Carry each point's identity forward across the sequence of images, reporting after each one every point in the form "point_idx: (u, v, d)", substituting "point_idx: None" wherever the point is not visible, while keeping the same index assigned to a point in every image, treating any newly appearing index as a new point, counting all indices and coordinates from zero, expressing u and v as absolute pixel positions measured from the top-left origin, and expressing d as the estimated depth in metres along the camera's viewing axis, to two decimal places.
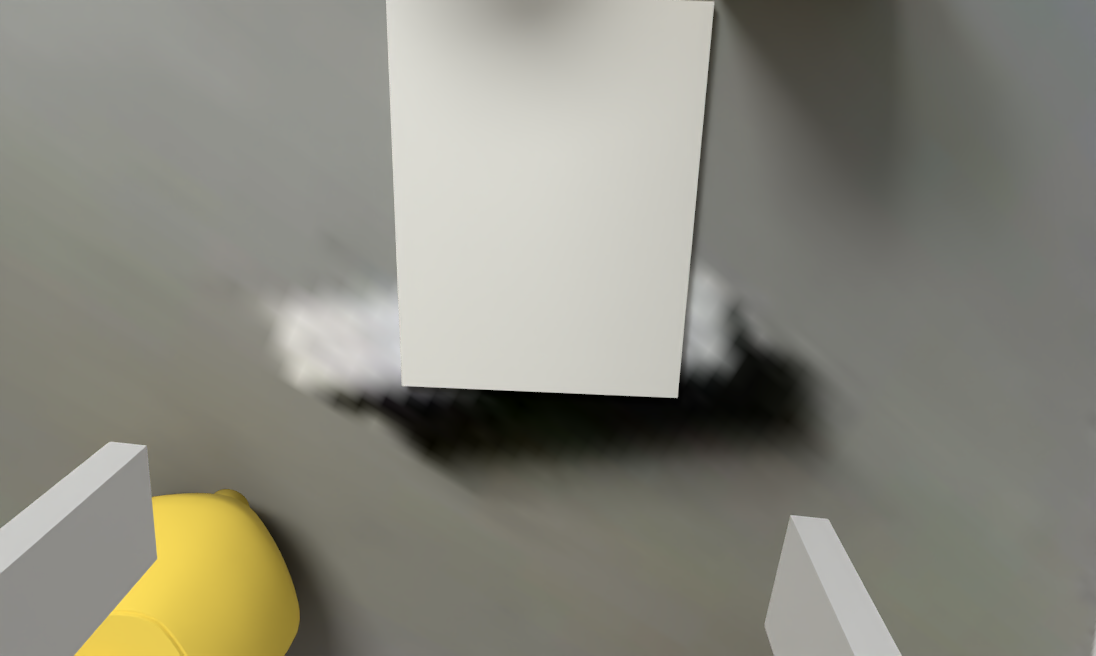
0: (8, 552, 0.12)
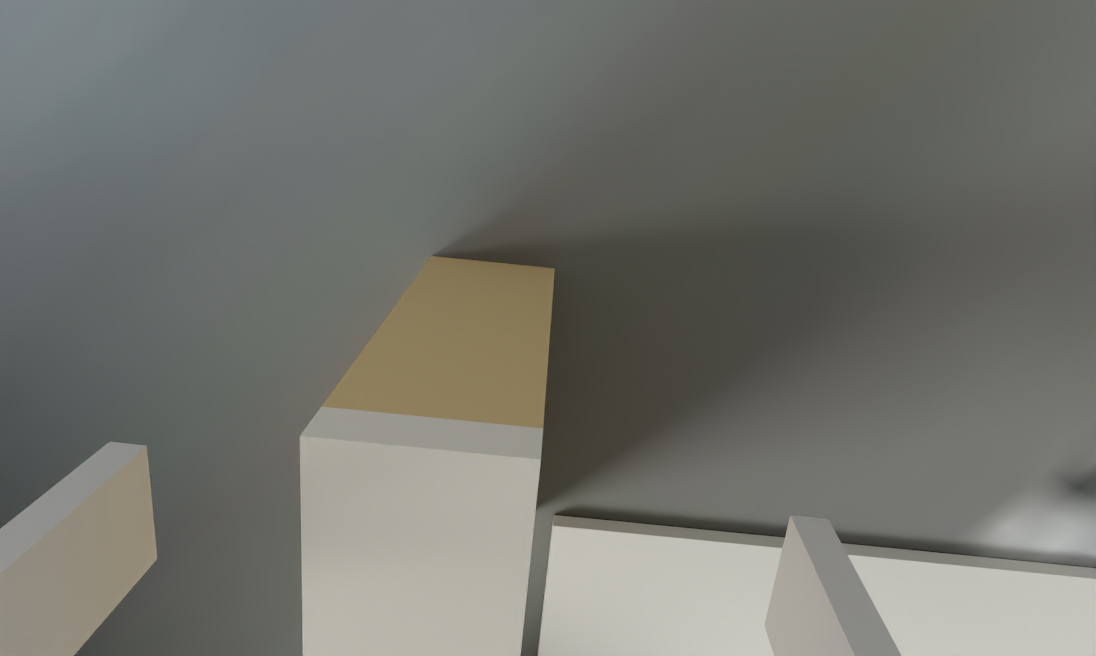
0: (8, 552, 0.12)
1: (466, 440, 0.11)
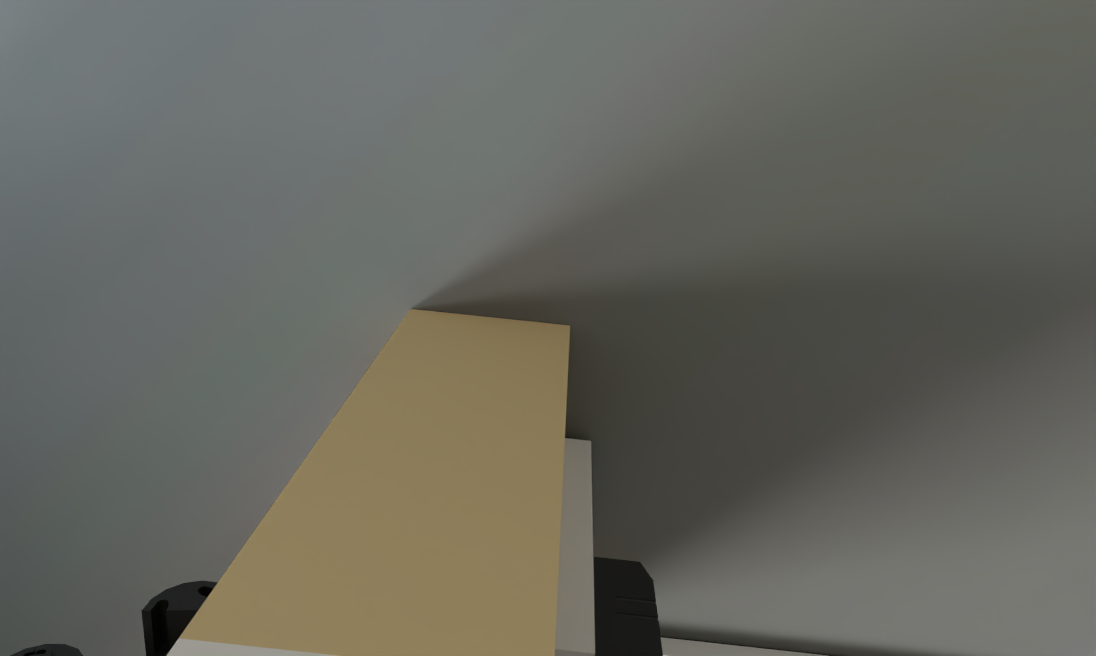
0: None
1: None
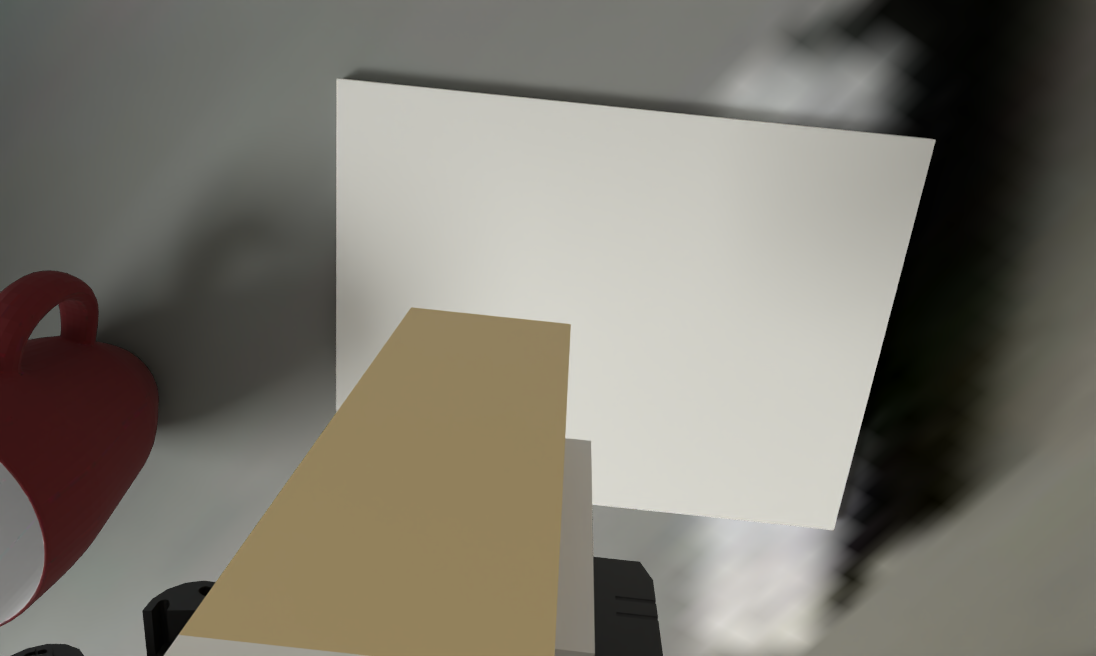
0: None
1: None
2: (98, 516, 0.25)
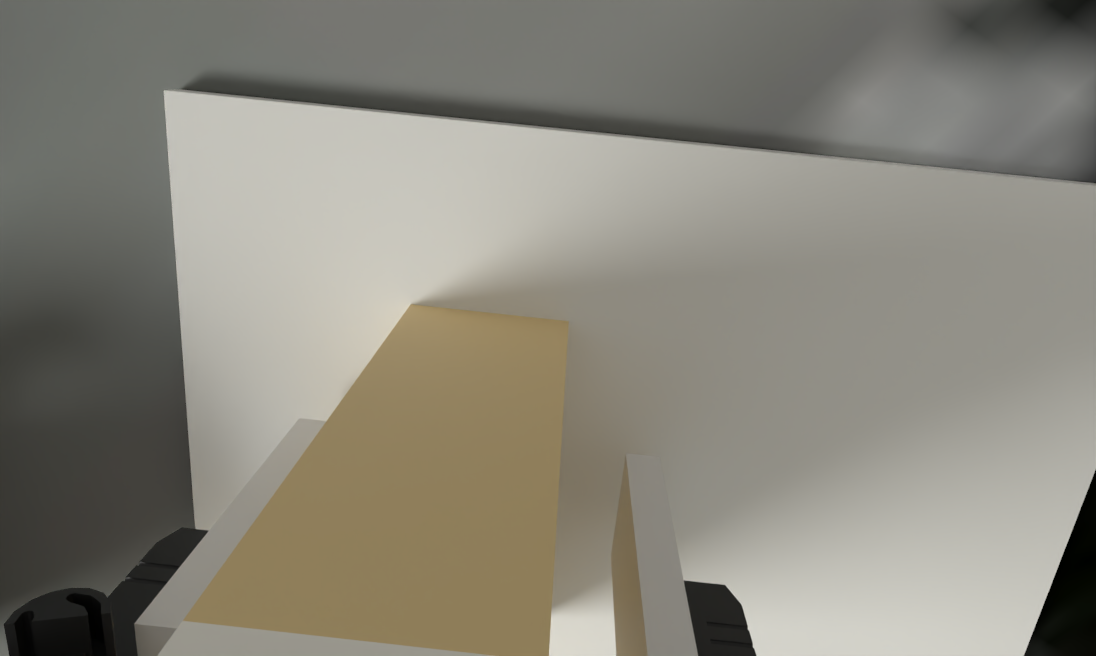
0: (257, 509, 0.13)
1: None
2: None
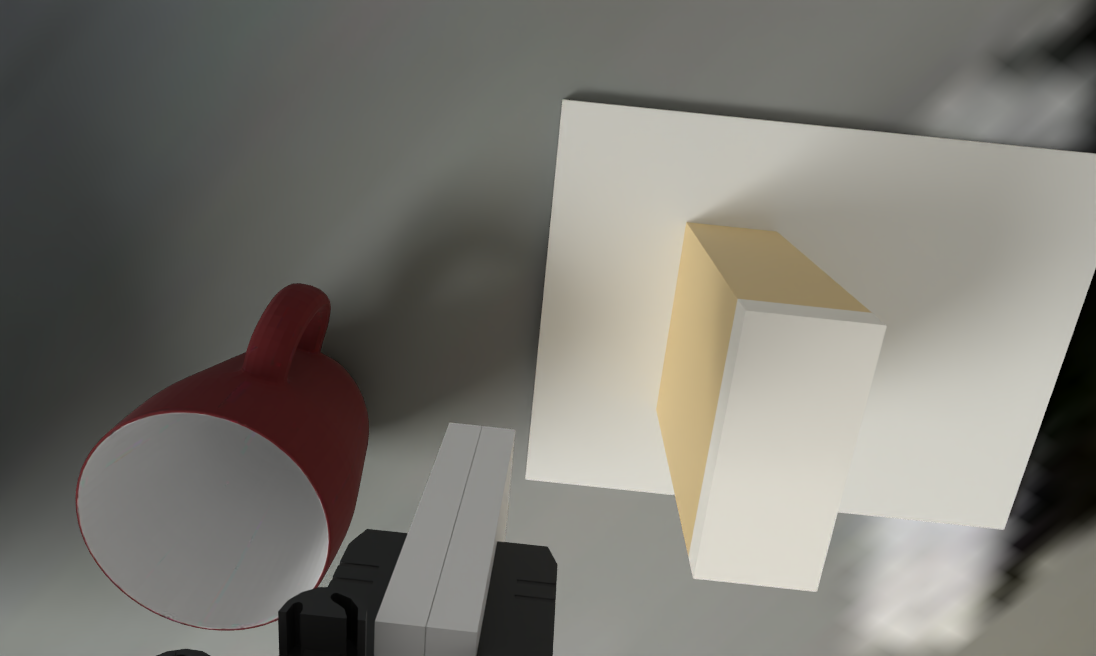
0: (445, 511, 0.14)
1: (836, 316, 0.19)
2: (351, 517, 0.26)
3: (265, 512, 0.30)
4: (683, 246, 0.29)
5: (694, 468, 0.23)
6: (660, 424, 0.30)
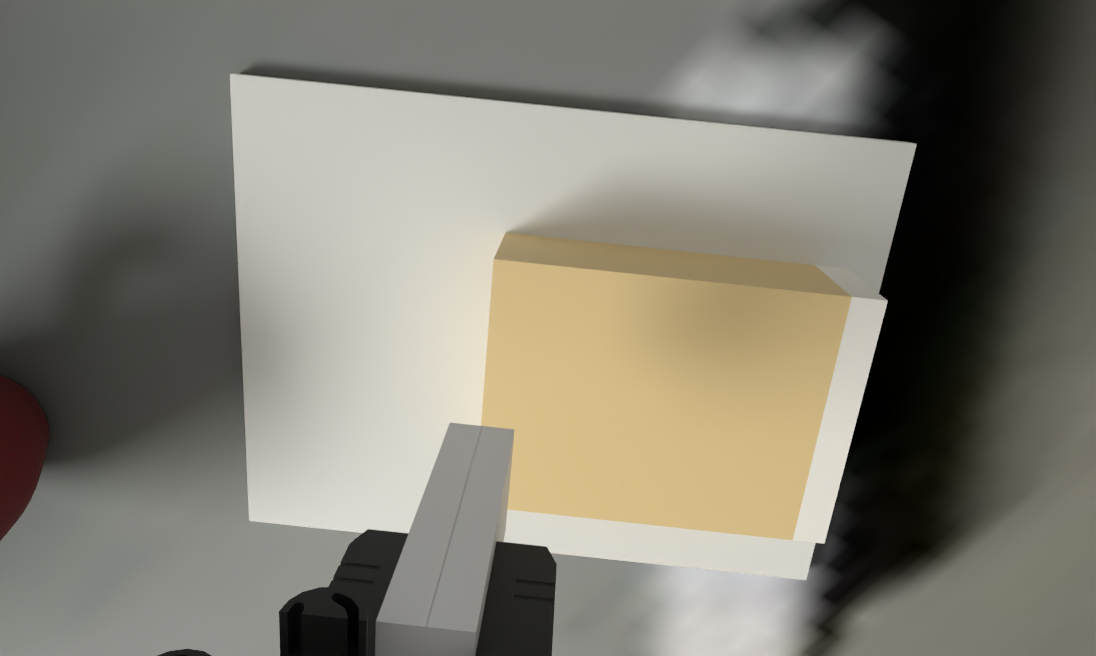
0: (445, 511, 0.14)
1: (845, 276, 0.23)
2: None
3: None
4: (501, 291, 0.21)
5: (764, 473, 0.23)
6: (525, 508, 0.24)
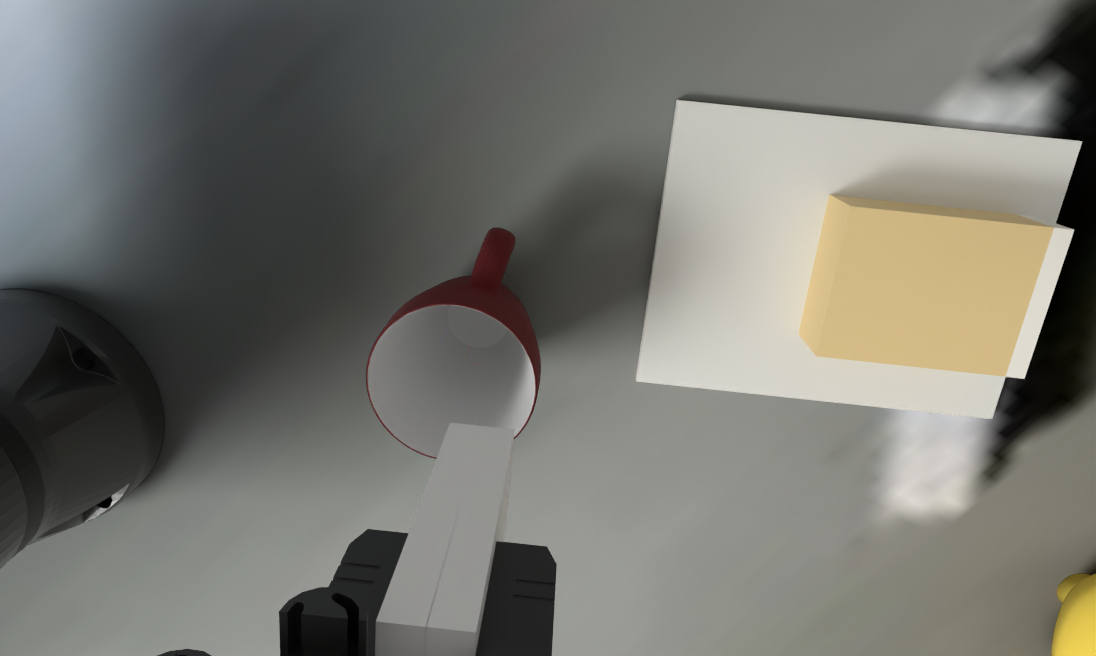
0: (445, 511, 0.14)
1: (1039, 219, 0.39)
2: None
3: (458, 396, 0.41)
4: (852, 224, 0.37)
5: (992, 334, 0.39)
6: (846, 357, 0.40)
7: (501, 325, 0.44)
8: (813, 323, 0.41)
